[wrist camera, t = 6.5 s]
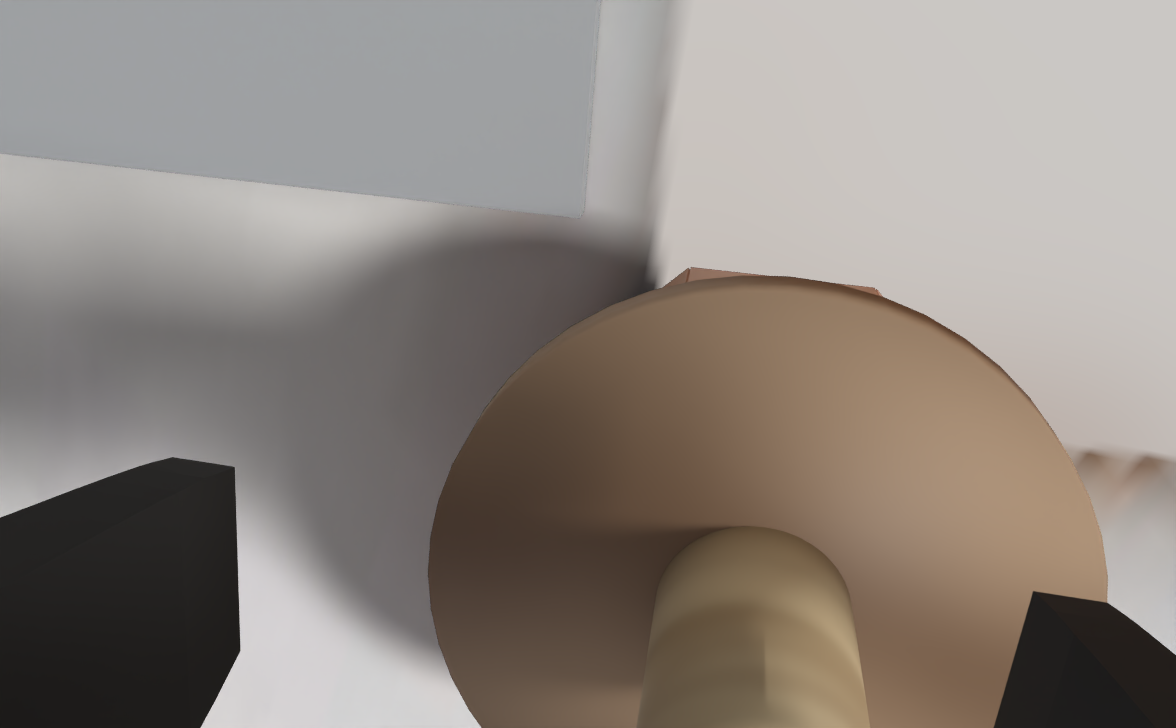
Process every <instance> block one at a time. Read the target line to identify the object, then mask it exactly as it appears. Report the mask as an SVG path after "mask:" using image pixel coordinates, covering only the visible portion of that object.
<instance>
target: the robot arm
mask: <svg viewBox="0 0 1176 728" xmlns="http://www.w3.org/2000/svg"><path fill="white" fill-rule="evenodd" d="M239 652H240V625H239V593H238V560H237V528H236V496H235V467H232V466H225V465H219V464H212V463H206V462H199V461H193V460H187V459H180V458H174V457H172V458H168V459H164V460H160V461H156V462H152V463H149V464H146V465H142V466H139V467H136V468H133V469H130V470H127V471H124V472H121V473H118V474H116V475H113V476H110V477H107V478H104V479H102V480H99V481H96V482H94V483H91V484H88V485H85V486H83V487H80V488H77V489H75V490H72V491H70V492H67V493H64V494H62V495H59V496H56V497H54V498H51V499H48V500H46V501H43V502H41V503H38V504H35V505H33V506H30V507H27V508H25V509H22V510H19V511H17V512H14V513H12V514H9V515H6V516H4V517H1V518H0V728H200V727H201V726H202V724H203V722H204V720H205V718H206V716H207V715H208V713H209V711H210V709H211V707H212V705H213V704H214V702H215V700H216V698H217V696H218V694H219V692H220V690H221V688H222V686H223V684H224V682H225V680H226V678H227V676H228V674H229V672H230V670H231V668H232V666H233V664H234V662H235V660H236V658H237V656H238V654H239ZM994 728H1176V655H1175V654H1173V653H1172V652H1171V651H1170V650H1169V649H1167V648H1166V647H1165V646H1164V645H1162V644H1161V643H1160V642H1159V641H1158V640H1156V639H1155V638H1154V637H1153V636H1151V635H1150V634H1149V633H1148V632H1146V631H1145V630H1144V629H1143V628H1141V627H1140V626H1139V625H1138V624H1136V623H1135V622H1134V621H1132V620H1131V619H1130V618H1128V617H1127V616H1126V615H1124V614H1123V613H1121V612H1120V611H1118V610H1117V609H1116V608H1114V607H1113V606H1111V605H1110V604H1108V603H1107V602H1101V601H1094V600H1088V599H1081V598H1075V597H1068V596H1062V595H1056V594H1049V593H1043V592H1036V591H1033V593H1032V597H1031V600H1030V604H1029V607H1028V611H1027V614H1026V618H1025V621H1024V624H1023V628H1022V631H1021V635H1020V638H1019V642H1018V645H1017V649H1016V652H1015V656H1014V659H1013V662H1012V666H1011V669H1010V673H1009V676H1008V680H1007V683H1006V687H1005V690H1004V694H1003V697H1002V700H1001V704H1000V707H999V711H998V714H997V718H996V721H995V725H994Z"/></svg>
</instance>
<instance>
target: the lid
mask: <svg viewBox="0 0 1176 728" xmlns="http://www.w3.org/2000/svg"><path fill="white" fill-rule="evenodd" d="M428 579H429V591H430V604H431V611H432V616H433V620H434V625H435V629H436V634H437V638H438V642H439V646H440V648H441V651H442V654H443V656H444V659H445V662H446V664H447V667H448V669H449V672H450V675H451V677H452V679H453V681H454V683H455V685H456V687H457V689H458V690H459V692H460V694H461V696H462V698H463V700H464V702H465V704H466V705H467V707H468V709H469V711H470V712H471V713H472V715H473V716H474V718H475V719H476V720H477V722H478V723H479V725H480V726H481V727H482V728H994V725H995V721H996V718H997V714H998V711H999V707H1000V704H1001V700H1002V697H1003V694H1004V690H1005V687H1006V683H1007V680H1008V676H1009V673H1010V669H1011V666H1012V662H1013V659H1014V656H1015V652H1016V649H1017V645H1018V642H1019V638H1020V635H1021V631H1022V628H1023V624H1024V621H1025V618H1026V614H1027V611H1028V607H1029V604H1030V600H1031V597H1032V593H1033V591H1036V592H1043V593H1049V594H1056V595H1062V596H1068V597H1075V598H1081V599H1088V600H1094V601H1101V602H1107V586H1108V575H1107V568H1106V561H1105V554H1104V547H1103V540H1102V535H1101V532H1100V529H1099V525H1098V522H1097V519H1096V516H1095V513H1094V510H1093V506H1092V503H1091V500H1090V497H1089V495H1088V493H1087V491H1086V489H1085V487H1084V485H1083V483H1082V481H1081V479H1080V477H1079V475H1078V473H1077V471H1076V469H1075V467H1074V465H1073V463H1072V461H1071V459H1070V457H1069V455H1068V454H1067V452H1066V450H1065V449H1064V447H1063V446H1062V444H1061V442H1060V441H1059V439H1058V438H1057V436H1056V434H1055V433H1054V431H1053V430H1052V428H1051V427H1050V426H1049V424H1048V423H1047V422H1046V420H1045V419H1044V417H1043V416H1042V414H1041V413H1040V411H1039V410H1038V409H1037V407H1036V406H1035V405H1034V403H1033V402H1032V400H1031V399H1030V397H1029V396H1028V395H1027V394H1026V393H1025V392H1024V391H1023V390H1022V389H1021V388H1020V387H1019V386H1018V385H1017V384H1016V383H1015V382H1014V381H1013V380H1012V378H1010V376H1009V375H1008V374H1007V373H1006V372H1005V371H1004V370H1003V369H1002V368H1001V367H1000V366H999V365H998V364H996V363H995V362H994V361H993V360H991V359H990V358H989V357H988V356H986V355H985V354H984V353H983V352H981V351H980V350H979V349H977V348H976V347H975V346H974V345H972V344H971V343H970V342H969V341H967V340H966V339H965V338H963V337H962V336H960V335H958V334H956V333H955V332H953V331H951V330H950V329H948V328H946V327H945V326H943V325H941V324H940V323H938V322H936V321H934V320H933V319H931V318H930V317H928V316H926V315H924V314H922V313H919V312H917V311H915V310H912V309H910V308H908V307H905V306H903V305H901V304H898V303H896V302H894V301H891V300H889V299H887V298H884V297H882V296H879V295H875V294H871V293H868V292H864V291H861V290H857V289H854V288H850V287H847V286H843V285H840V284H836V283H829V282H822V281H815V280H809V279H802V278H796V277H786V276H785V277H784V276H745V275H742V276H732V277H722V278H712V279H702V280H695V281H690V282H686V283H681V284H677V285H673V286H668V287H664V288H660V289H655V290H651V291H649V292H646V293H643V294H641V295H638V296H635V297H632V298H630V299H627V300H624V301H622V302H619V303H616V304H614V305H611V306H609V307H607V308H605V309H603V310H601V311H599V312H597V313H596V314H594V315H592V316H590V317H588V318H586V319H584V320H582V321H580V322H578V323H577V324H575V325H573V326H571V327H570V328H568V329H567V330H566V331H564V332H563V333H561V334H560V335H559V336H557V337H556V338H554V339H553V340H552V341H550V342H549V343H547V344H546V345H545V346H543V347H542V348H540V349H539V350H538V351H537V352H536V353H535V354H534V355H533V356H531V357H530V358H529V359H528V360H527V361H526V362H525V363H524V364H523V365H522V366H521V367H520V368H519V369H518V370H517V371H516V372H515V373H514V374H513V375H511V376H510V377H509V379H508V380H507V381H506V382H505V384H504V385H503V386H502V387H501V389H500V390H499V391H498V392H497V394H496V395H495V396H494V398H493V399H492V400H491V401H490V403H489V404H488V405H487V406H486V408H485V409H484V411H483V413H482V414H481V416H480V418H479V419H478V421H477V423H476V425H475V426H474V428H473V430H472V431H471V433H470V435H469V437H468V438H467V440H466V442H465V444H464V445H463V447H462V449H461V451H460V452H459V454H458V456H457V458H456V459H455V461H454V463H453V465H452V467H451V470H450V472H449V475H448V477H447V480H446V482H445V485H444V488H443V490H442V493H441V495H440V498H439V501H438V505H437V510H436V514H435V519H434V523H433V528H432V532H431V537H430V551H429V566H428Z"/></svg>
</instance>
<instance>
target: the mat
mask: <svg viewBox="0 0 1176 728" xmlns="http://www.w3.org/2000/svg"><path fill="white" fill-rule="evenodd" d="M600 3H601V0H0V154H9V155H18V156H27V157H35V158H44V159H53V160H62V161H71V162H80V163H89V164H98V165H107V166H115V167H124V168H133V169H142V170H151V171H160V172H169V173H178V174H187V175H195V176H204V177H213V178H222V179H231V180H240V181H249V182H258V183H267V184H275V185H284V186H293V187H302V188H311V189H320V190H329V191H338V192H347V193H355V194H364V195H373V196H382V197H391V198H400V199H409V200H418V201H427V202H435V203H444V204H453V205H462V206H471V207H480V208H489V209H498V210H507V211H515V212H524V213H533V214H542V215H551V216H560V217H569V218H578V219H580V217H581V216H582V214H583V213H584V206H585V193H586V180H587V168H588V155H589V142H590V130H591V117H592V104H593V92H594V79H595V66H596V54H597V41H598V28H599V16H600Z"/></svg>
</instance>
